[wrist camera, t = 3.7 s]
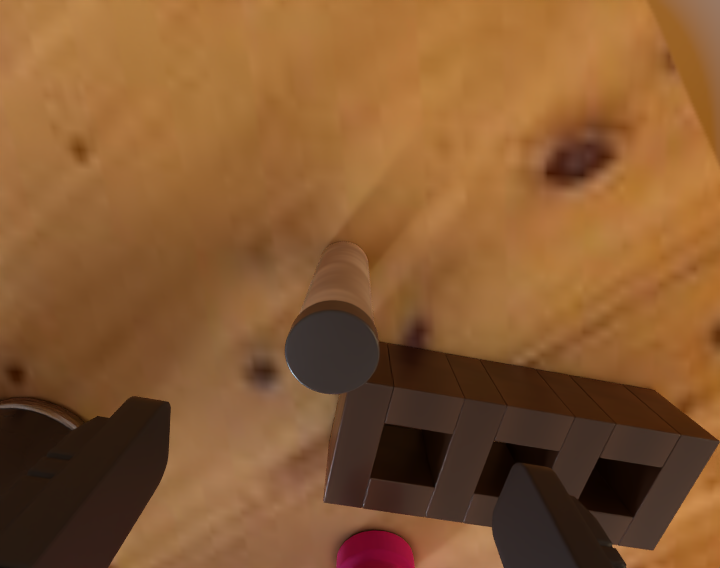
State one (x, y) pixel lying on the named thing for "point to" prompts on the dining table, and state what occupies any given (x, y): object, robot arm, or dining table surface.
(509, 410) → the dark brown hollow block
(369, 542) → the pepper mill
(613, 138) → the dining table surface
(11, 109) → the dining table surface
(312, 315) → the peg
